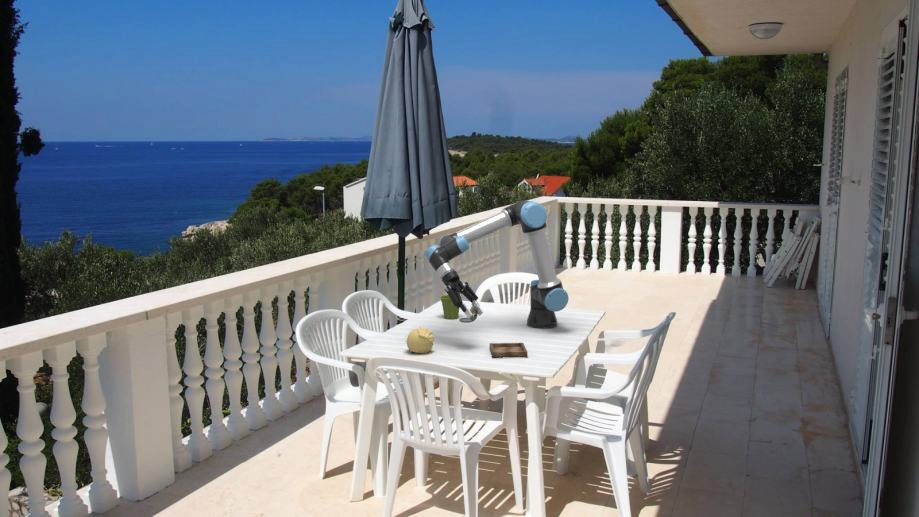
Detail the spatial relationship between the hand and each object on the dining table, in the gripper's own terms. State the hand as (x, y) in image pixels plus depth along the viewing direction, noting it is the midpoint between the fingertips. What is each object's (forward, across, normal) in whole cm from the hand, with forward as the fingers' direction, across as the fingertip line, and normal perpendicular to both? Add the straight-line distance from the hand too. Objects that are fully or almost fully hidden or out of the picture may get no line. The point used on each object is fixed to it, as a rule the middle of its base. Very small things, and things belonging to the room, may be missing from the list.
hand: (475, 315), depth 332 cm
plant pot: (-25, -38, -47) cm, 65 cm away
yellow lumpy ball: (0, +19, -22) cm, 29 cm away
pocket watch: (0, +1, -5) cm, 5 cm away
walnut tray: (+21, -4, 0) cm, 22 cm away
